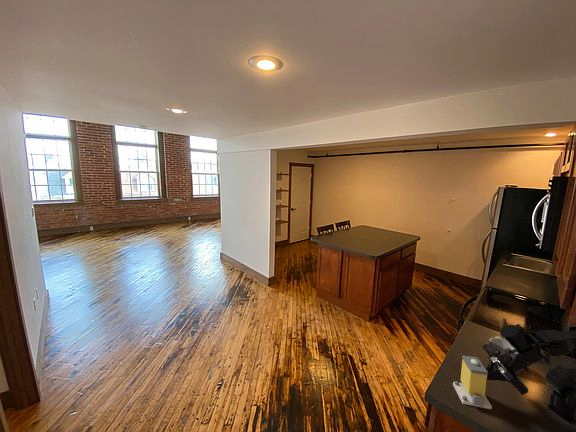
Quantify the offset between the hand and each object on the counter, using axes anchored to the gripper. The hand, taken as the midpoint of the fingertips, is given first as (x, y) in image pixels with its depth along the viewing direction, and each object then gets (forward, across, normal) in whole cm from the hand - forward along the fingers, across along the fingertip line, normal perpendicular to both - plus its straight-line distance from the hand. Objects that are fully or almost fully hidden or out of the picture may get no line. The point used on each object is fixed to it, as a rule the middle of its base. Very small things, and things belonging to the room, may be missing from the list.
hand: (481, 378), depth 92 cm
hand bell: (-11, -34, +22) cm, 42 cm away
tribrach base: (+8, 0, +4) cm, 9 cm away
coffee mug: (-6, -22, +17) cm, 28 cm away
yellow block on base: (+6, 0, +2) cm, 6 cm away
